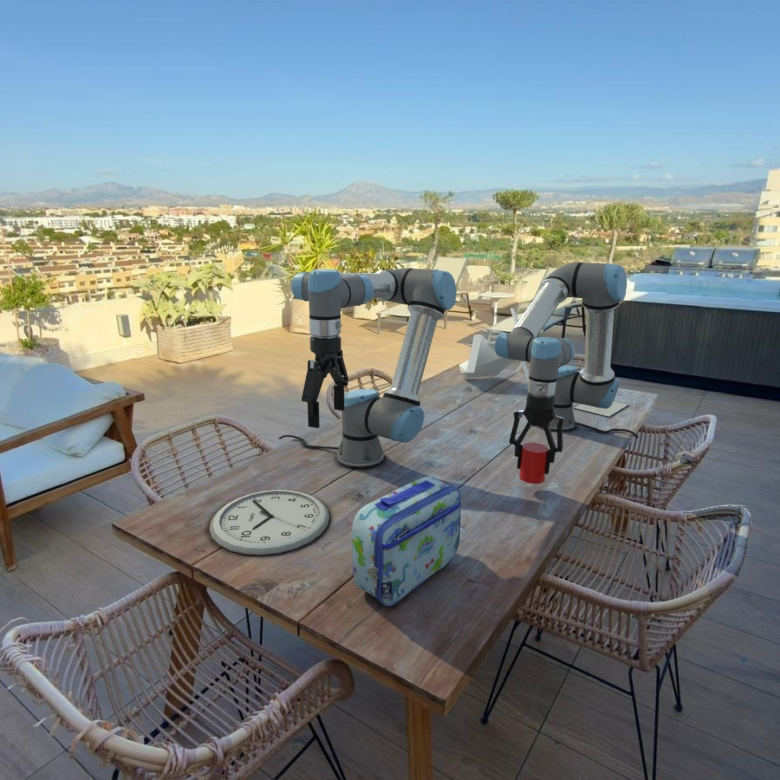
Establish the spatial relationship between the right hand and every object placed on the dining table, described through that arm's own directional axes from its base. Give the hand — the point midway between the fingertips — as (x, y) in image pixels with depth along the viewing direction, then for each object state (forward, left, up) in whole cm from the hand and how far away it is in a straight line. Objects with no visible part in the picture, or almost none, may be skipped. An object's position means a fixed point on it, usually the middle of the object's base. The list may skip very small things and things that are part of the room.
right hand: (532, 469), depth 151 cm
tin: (0, 0, -3) cm, 3 cm away
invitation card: (-41, -82, -7) cm, 92 cm away
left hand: (+56, +20, +20) cm, 62 cm away
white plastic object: (+1, -107, -7) cm, 107 cm away
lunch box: (+32, +45, -7) cm, 56 cm away
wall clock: (+69, +27, -7) cm, 75 cm away
